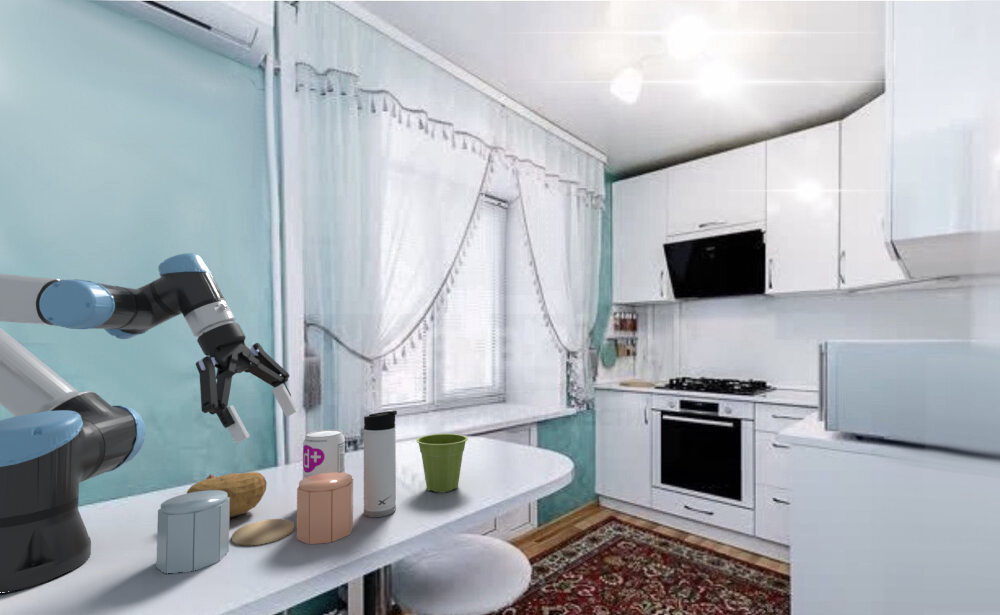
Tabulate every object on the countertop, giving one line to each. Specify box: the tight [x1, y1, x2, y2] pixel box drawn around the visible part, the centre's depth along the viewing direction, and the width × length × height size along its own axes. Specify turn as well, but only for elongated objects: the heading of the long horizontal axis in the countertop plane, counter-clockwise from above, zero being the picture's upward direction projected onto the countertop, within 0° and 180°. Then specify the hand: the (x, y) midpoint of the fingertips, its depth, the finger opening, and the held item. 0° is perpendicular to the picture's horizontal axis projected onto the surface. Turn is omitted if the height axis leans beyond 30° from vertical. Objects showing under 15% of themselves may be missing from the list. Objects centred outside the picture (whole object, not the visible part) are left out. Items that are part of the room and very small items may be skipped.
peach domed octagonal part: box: [296, 472, 354, 545], centre depth 83 cm, size 9×9×9 cm
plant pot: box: [416, 433, 469, 493], centre depth 107 cm, size 12×12×11 cm
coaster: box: [231, 518, 295, 547], centre depth 83 cm, size 10×10×1 cm
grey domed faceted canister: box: [155, 490, 230, 575], centre depth 74 cm, size 9×9×9 cm
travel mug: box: [363, 410, 398, 518], centre depth 93 cm, size 6×7×20 cm
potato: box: [185, 471, 267, 519], centre depth 91 cm, size 10×14×8 cm
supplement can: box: [302, 429, 346, 479], centre depth 97 cm, size 8×8×15 cm
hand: (269, 426), depth 89 cm, fingers open, 13 cm apart
